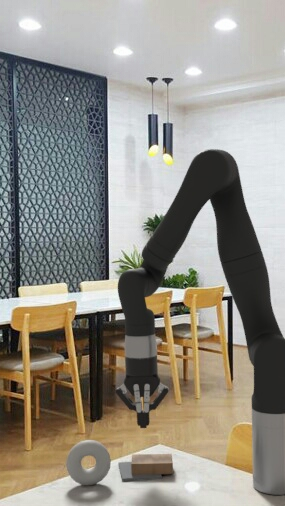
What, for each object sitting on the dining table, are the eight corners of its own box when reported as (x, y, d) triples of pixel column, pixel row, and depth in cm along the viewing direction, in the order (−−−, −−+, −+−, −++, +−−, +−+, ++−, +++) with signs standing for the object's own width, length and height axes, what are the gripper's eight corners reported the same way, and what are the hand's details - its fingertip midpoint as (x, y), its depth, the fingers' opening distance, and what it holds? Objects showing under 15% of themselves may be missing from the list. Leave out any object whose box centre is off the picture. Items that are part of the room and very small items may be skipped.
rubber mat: (155, 462, 148) (155, 460, 148) (161, 478, 139) (161, 475, 139) (118, 465, 147) (118, 462, 147) (122, 481, 137) (122, 478, 137)
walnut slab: (132, 454, 146) (171, 453, 145) (132, 464, 146) (171, 464, 145) (131, 463, 140) (172, 463, 139) (131, 474, 140) (172, 473, 139)
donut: (110, 479, 138) (109, 436, 138) (112, 486, 135) (111, 441, 135) (66, 483, 137) (65, 439, 137) (66, 489, 134) (65, 444, 133)
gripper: (111, 357, 139) (113, 432, 139) (168, 356, 138) (171, 431, 138) (114, 351, 146) (117, 422, 147) (169, 349, 145) (172, 421, 146)
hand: (143, 427), depth 142 cm, fingers closed
